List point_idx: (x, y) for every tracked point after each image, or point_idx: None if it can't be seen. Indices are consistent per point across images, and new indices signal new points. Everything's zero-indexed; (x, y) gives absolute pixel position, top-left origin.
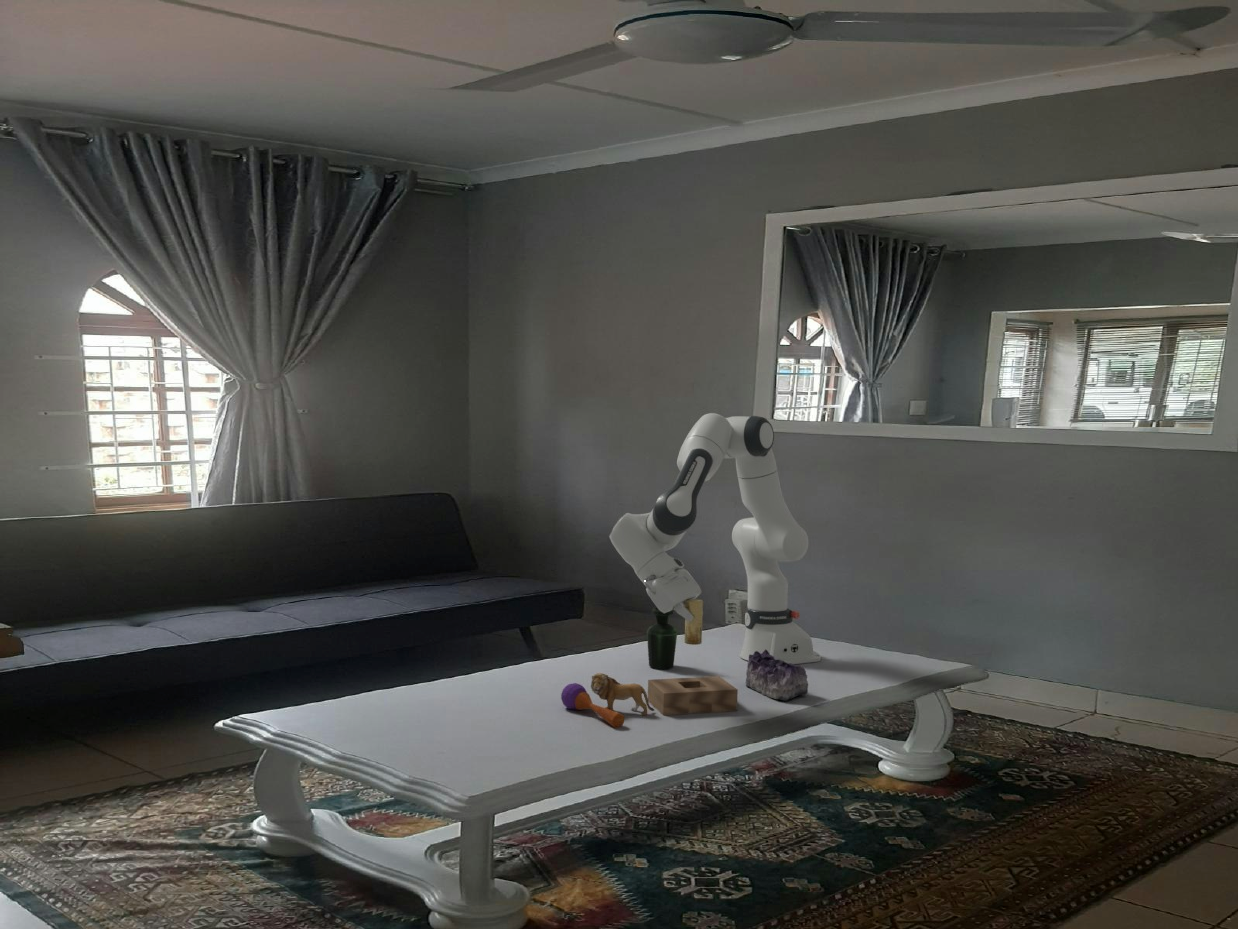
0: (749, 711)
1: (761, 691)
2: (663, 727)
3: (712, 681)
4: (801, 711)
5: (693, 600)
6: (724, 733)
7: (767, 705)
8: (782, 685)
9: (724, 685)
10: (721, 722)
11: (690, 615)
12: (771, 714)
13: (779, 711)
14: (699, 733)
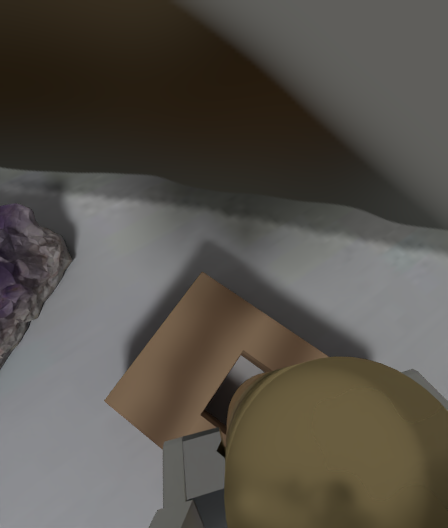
0: (189, 264)
1: (32, 319)
2: (445, 339)
3: (177, 376)
4: (113, 187)
5: (373, 499)
6: (362, 219)
7: (117, 260)
8: (45, 237)
9: (191, 321)
10: (306, 264)
11: (438, 394)
12: (176, 219)
13: (143, 218)
14: (406, 254)
